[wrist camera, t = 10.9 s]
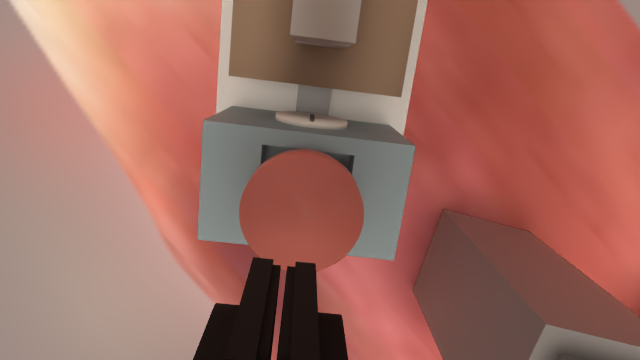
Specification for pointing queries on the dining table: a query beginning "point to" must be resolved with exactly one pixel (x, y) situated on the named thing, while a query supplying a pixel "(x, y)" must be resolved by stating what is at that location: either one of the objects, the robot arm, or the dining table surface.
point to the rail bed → (311, 97)
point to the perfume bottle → (516, 299)
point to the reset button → (301, 209)
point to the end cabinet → (303, 133)
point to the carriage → (324, 43)
